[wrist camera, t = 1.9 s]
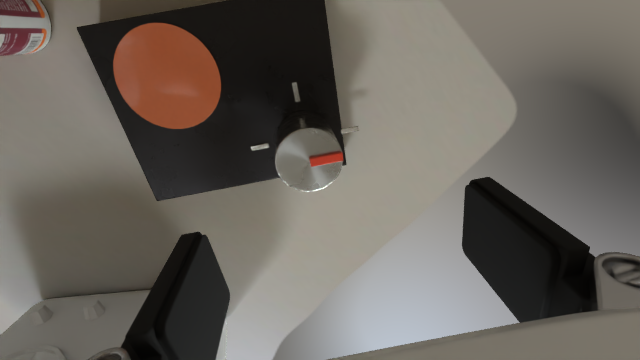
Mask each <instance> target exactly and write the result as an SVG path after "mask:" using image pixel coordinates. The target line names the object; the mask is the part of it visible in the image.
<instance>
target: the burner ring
mask: <svg viewBox="0 0 640 360" xmlns="http://www.w3.org/2000/svg"><path fill="white" fill-rule="evenodd" d="M113 70H114V77H115V81H116V84H117V87H118V89H119V91H120V93H121V95H122V97H123V98H124V100H125V101H126V102H127V104H128V105H129V106H130V107H131V108H132V109H133V110H134V111H135V112H136V113H137V114H139V115H140V116H141V117H143V118H144V119H146V120H147V121H149V122H151V123H153V124H156V125H158V126H161V127H165V128H171V129H183V128H189V127H193V126H195V125H198V124H200V123H201V122H203V121H204V120H206V119H207V118H208V117H209V116H210V115H211V114H212V113H213V111H214V110H215V108H216V106H217V104H218V102H219V99H220V94H221V76H220V72H219V69H218V66H217V63H216V61H215V59H214V57H213V56H212V54H211V52H210V51H209V50H208V48H207V47H206V46H205V45H204V44H203V43H202V42H201V41H200V40H199V39H198V38H197V37H195V36H194V35H193V34H191V33H190V32H188V31H186V30H185V29H182V28H180V27H178V26H175V25H171V24H166V23H147V24H144V25H140V26H138V27H136V28H134V29H132V30H131V31H129V32H128V33H127V34H126V35H125V36H124V37H123V38H122V40H121V41H120V42H119V44H118V46H117V48H116V51H115V55H114V60H113Z"/></svg>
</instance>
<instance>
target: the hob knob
mask: <svg viewBox="0 0 640 360" xmlns="http://www.w3.org/2000/svg"><path fill="white" fill-rule="evenodd" d="M342 164H343V153H342V150H341V147H340V145H339V143H338V141H337V139H336V137H335V135H334V133H333V131H332V129H331V127H330V125H329V123H328V122H327V120H326V119H325V118H324V117H322V116H321V115H319V114H318V113H315V112H312V111H298V112H295V113H292V114H291V115H289V116H288V117H286V118H285V119H284V120H283V121H282V123H281V124H280V126H279V129H278V132H277V140H276V150H275V167H276V170H277V173H278V175H279V176H280V178H281V179H282V180H283V182H285V183H286V184H287V185H288V186H290V187H292V188H294V189H296V190H300V191H306V192H309V191H317V190H320V189H323V188H325V187H327V186H328V185H330V184H331V183H332V182H333V181H334V180H335V179H336V178H337V176H338V175H339V173H340V171H341V168H342Z"/></svg>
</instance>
